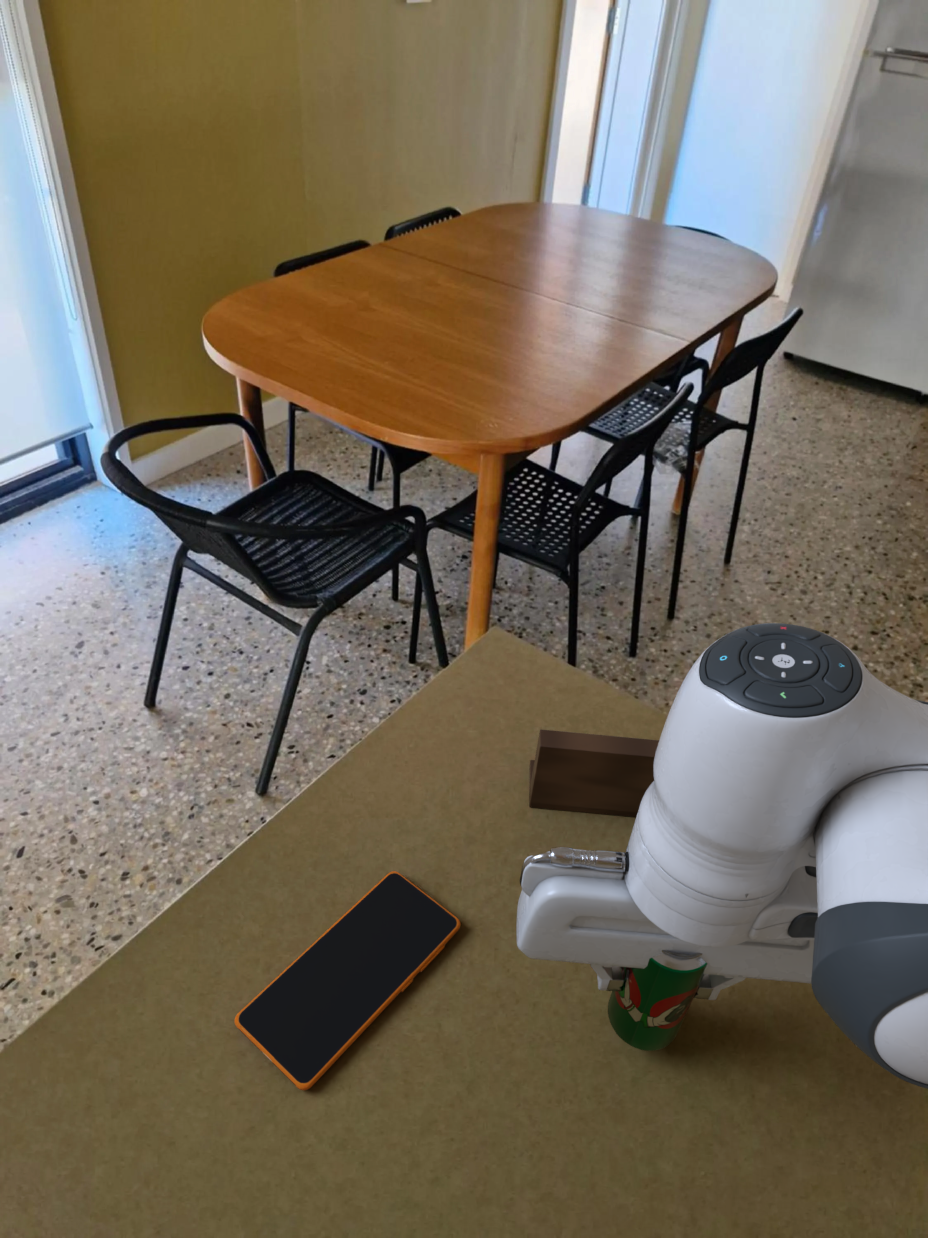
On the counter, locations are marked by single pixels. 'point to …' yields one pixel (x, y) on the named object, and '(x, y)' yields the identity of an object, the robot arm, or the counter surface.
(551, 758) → the brown rectangular block
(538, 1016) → the counter surface
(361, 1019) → the smartphone
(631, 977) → the soda can
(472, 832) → the counter surface
